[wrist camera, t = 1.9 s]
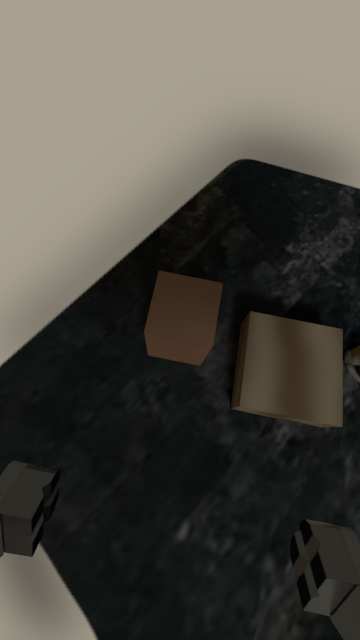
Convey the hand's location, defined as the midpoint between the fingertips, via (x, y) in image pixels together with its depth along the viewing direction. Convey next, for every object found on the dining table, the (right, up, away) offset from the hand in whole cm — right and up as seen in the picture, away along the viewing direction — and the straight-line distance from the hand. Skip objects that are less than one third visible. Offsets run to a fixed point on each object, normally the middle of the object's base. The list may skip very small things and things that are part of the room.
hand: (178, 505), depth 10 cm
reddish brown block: (0, +4, +25) cm, 26 cm away
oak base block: (+11, 0, +24) cm, 27 cm away
